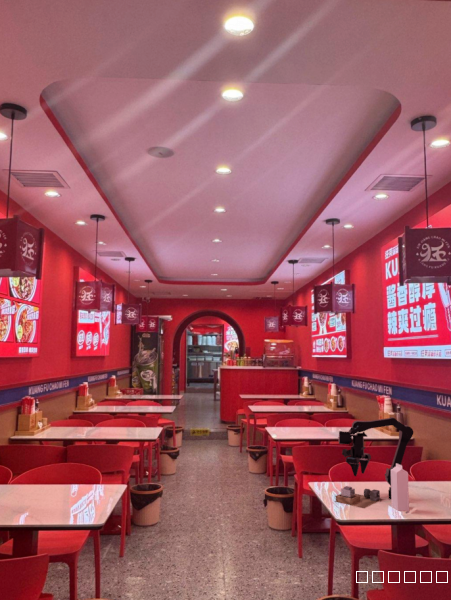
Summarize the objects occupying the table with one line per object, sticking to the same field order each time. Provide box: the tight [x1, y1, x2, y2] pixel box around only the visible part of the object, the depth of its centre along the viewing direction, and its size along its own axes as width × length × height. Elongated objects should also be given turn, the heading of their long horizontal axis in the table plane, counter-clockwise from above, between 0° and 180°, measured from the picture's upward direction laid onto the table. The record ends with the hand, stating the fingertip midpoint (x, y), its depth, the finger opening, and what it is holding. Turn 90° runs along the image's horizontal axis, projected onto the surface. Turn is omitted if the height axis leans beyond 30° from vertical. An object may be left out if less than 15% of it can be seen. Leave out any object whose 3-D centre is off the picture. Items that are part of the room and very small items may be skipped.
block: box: [340, 485, 356, 498], centre depth 241 cm, size 5×5×7 cm
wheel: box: [363, 488, 372, 498], centre depth 246 cm, size 6×4×4 cm
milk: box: [390, 463, 410, 514], centre depth 231 cm, size 6×6×22 cm
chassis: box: [334, 489, 384, 509], centre depth 243 cm, size 16×22×6 cm
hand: (359, 474), depth 253 cm, fingers open, 9 cm apart
